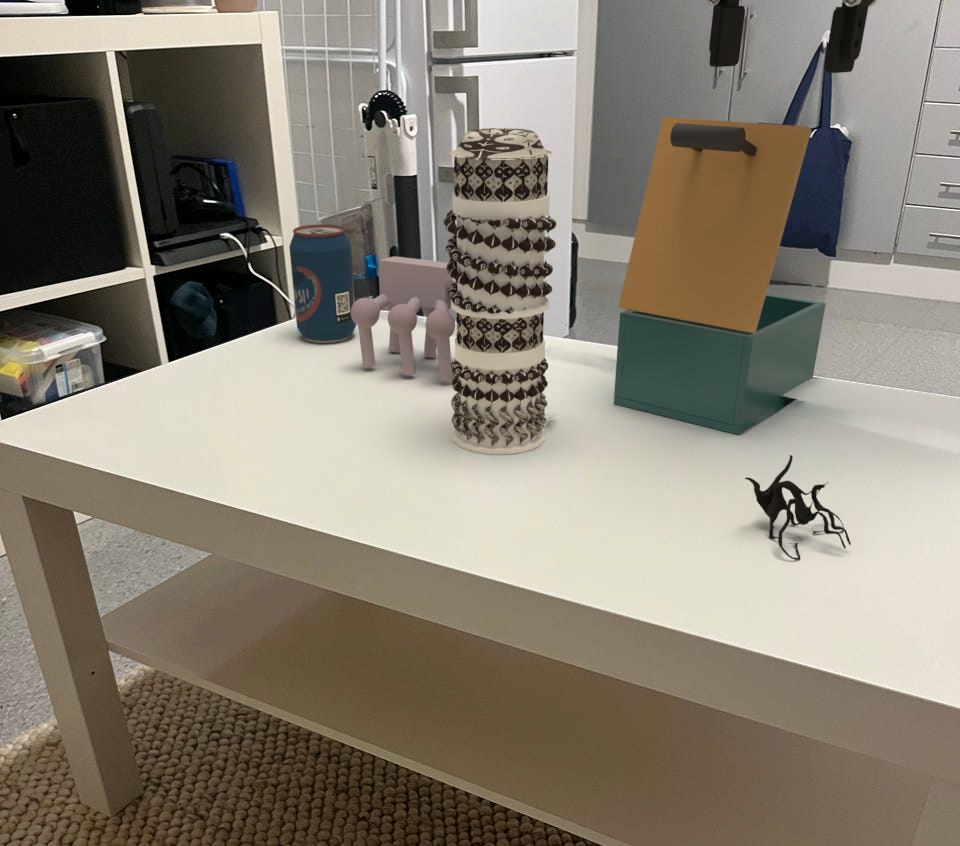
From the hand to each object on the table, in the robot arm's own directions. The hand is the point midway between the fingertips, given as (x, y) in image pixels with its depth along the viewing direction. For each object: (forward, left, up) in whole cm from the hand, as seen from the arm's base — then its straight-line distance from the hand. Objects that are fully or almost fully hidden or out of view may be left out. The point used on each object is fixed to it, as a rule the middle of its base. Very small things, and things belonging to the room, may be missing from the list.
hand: (778, 68), depth 76 cm
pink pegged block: (+1, -32, -29) cm, 44 cm away
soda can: (0, -52, -29) cm, 60 cm away
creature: (+15, +14, -29) cm, 36 cm away
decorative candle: (+13, -16, -29) cm, 36 cm away
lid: (-4, -6, -12) cm, 15 cm away
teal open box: (-9, -6, -29) cm, 31 cm away
